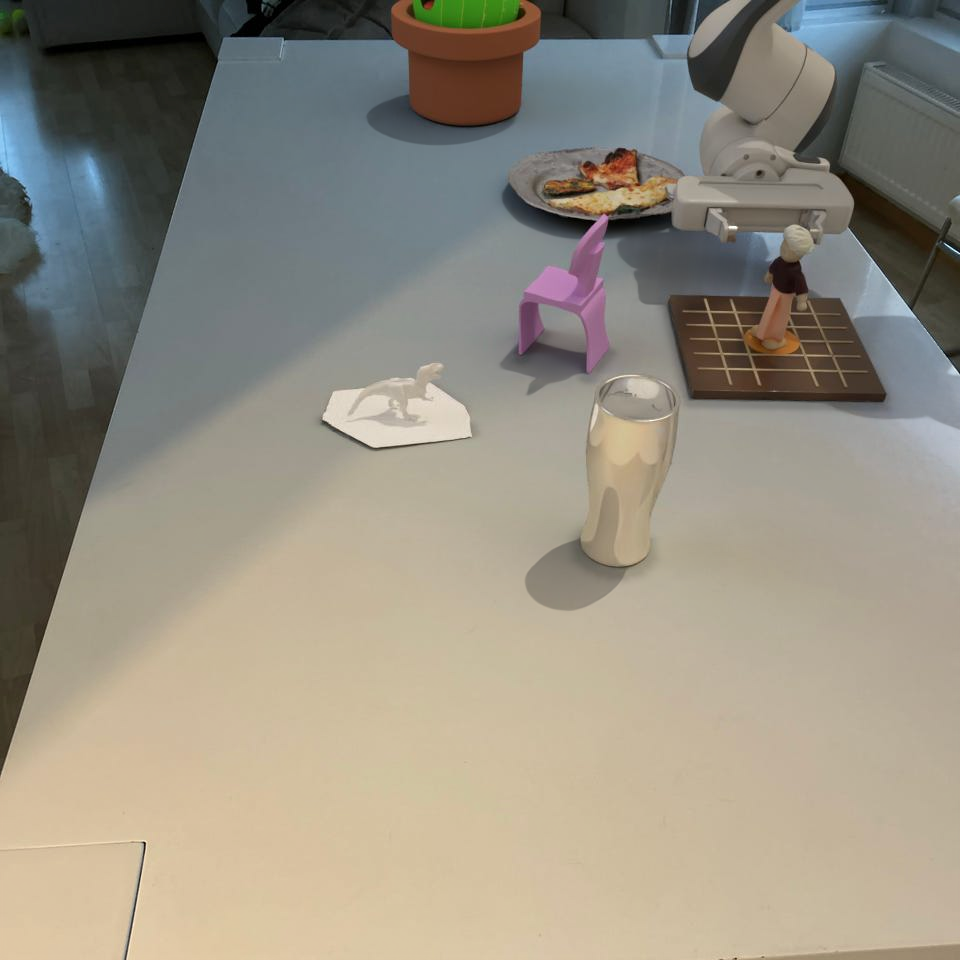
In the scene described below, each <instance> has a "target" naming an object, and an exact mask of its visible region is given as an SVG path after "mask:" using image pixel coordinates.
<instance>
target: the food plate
mask: <svg viewBox="0 0 960 960" xmlns="http://www.w3.org/2000/svg"><path fill="white" fill-rule="evenodd" d="M684 176H685V173H684V172H683V171H682V170H681V169H679V168H677V167H676V166H674V165H673V164H671V163H669V162H667V161H666V160H665V161H664V160H661V159H659V158H657V157H653V156H651V155H648V154H646V153H641V152H638V149H636V148H633V149H627V148H626V147H617V148H612V149H607V148H599V147H595V146H594V147H585V148H584V147H581V148H577V147H576V148H571V149H569V148H567V149H562V150H561V149H559V150H553V151H546V152H544V151H543V152H536V153H533V154H531V155H528V156H526V157H523V158H522V159H520V160H519V161H517V163H516V164H514V165H513V166H512V168H510V170H509V171H508V173H507V179H508V183H509V185H510V186H511V187H512V190H513V192H515V194H517V195H518V196H519V197H520V198H521V199H522V200H523V201H524V202H525V203H526V204H528V205H531V206H532V207H534V208H538V209H541V210H544V211H546V212H549V213H552V214H554V215H558V216H560V217H561V218H563V217H564V218H565V219H567V218H568V217H570V218H577V219H581V220H588V221H589V220H590V221H595V222H597V221H598V220H599V219H600V218H601V216H602V215H603V214H605V215H606V216H607V217H608V221H616V220H619V219H620V220H621V219H624V220H627V219H640V218H641V217H648V216H652V215H654V216H657V215H661V216H662V215H665V214H669V213H672V206H673V201H671V200H669V199H668V198H667V196H666V192H665V188H666V186H667V184H672V183H676V182H677V181H678V180H679V179H680V178H681V177H684Z"/></svg>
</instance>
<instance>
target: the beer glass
mask: <svg viewBox="0 0 960 960" xmlns="http://www.w3.org/2000/svg"><path fill="white" fill-rule="evenodd" d="M680 406H681V396H680V394H679V392H678V391H677V389H676V388H675V387H674V386H673V385H672V384H670V383H668V381H665V380H663V379H661V378H658V377H656V376H652V375H648V374H643V373H642V374H641V373H623V374H617V375H613V376H611V377H608V378H606V379H604V380H603V381H601V383H599V384H598V386H597V387H596V389H595V391H594V399H593V404H592V409H591V411H590V417H589V423H588V429H587V435H586V444H585V445H586V447H585V468H586V479H587V490H588V491H587V492H588V512H587V516H586V519H585V522H584V525H583V528H582V530H581V534H580V541H579V542H580V546H581V549H582V551H583V552H584V553H585V555H587V557H589V558H590V559H592V560H593V561H595V562H596V563H599V564H601V565H605V566H608V567H615V568H616V567H617V568H621V567H622V568H623V567H628V566H632V565H635V564H637V563H640V562H641V561H643V560H644V559H645V558H646V556H648V554H649V552H650V549H651V518H652V513H653V510H654V508H655V505H656V502H657V500H658V497H659V495H660V493H661V491H662V489H663V486H664V483H665V482H666V480H667V476H668V473H669V470H670V467H671V464H672V461H673V458H674V452H675V447H676V441H677V436H678V435H677V434H678V425H679V416H680V415H679V414H680Z"/></svg>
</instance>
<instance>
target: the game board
mask: <svg viewBox="0 0 960 960" xmlns="http://www.w3.org/2000/svg"><path fill="white" fill-rule="evenodd" d="M769 297H770V296H757V295H755V296H753V295H751V296H750V295H707V294H705V295H704V294H701V295H699V294H669V297H668V306H669V311H670V314H671V319H672V323H673V326H674V331H675V334H676V335H675V336H676V338H677V343H678V347H679V351H680V355H681V359H682V364H683V367H684V371H685V375H686V379H687V384H688V387H689V390H690V395H691V399H715V400H716V399H718V400H723V399H724V400H765V401H766V400H771V401H774V400H775V401H777V400H778V401H821V402H822V401H823V402H824V401H825V402H875V403H876V402H877V403H883V402H885V400H886V397H887V395H888V393H887V391H886V389H885V386H884V384H883V383H882V381H881V379H880V377H879V374H878V373H877V370H876V368H875V367H874V363H872V361H871V359H870V356H869V354H868V351H867V350H866V348H865V347H864V343H863V342H862V340H861V338H860V336H859V334H858V332H857V329H856V328H855V326H854V324H853V321H852V319H851V317H850V316H849V314H848V312H847V308H846V307H845V305H844V303H843V301H842V299H841V297H808V296H807V301H806V304H807V308H806V310H805V311H802V312H801V311H798V310H797V303H798V302H797V297H796V296H794V297H793V300H792V304H791V313H790V317H789V321H788V325H787V327H786V331H785V335H784V339H785V340H786V346H784V347H781V348H778V349H775V350H770V349H767V348H765V347H764V346H763V345H762V341H763V340H761V339H759V338H758V337H754V336H752V335H751V333H750V330H751V329H752V327H754V326H755V325H759V324H760V321H761V318H762V315H763V313H764V310H765V308H766V305H767V303H768V300H769Z"/></svg>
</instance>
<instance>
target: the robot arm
mask: <svg viewBox="0 0 960 960" xmlns="http://www.w3.org/2000/svg"><path fill="white" fill-rule="evenodd" d="M801 1H802V0H724V1H723V2H720V4H719V5H717V6H716V7H715V8H714V9H713V10H712V11H710V13H709V14H708V15H707V16H706V17H705V19H704V20H703V21H702V22H701V23H700V24H699V26H698V27H697V30H696V31H695V32H694V34H693V36H692V37H691V40H690V42H689V44H688V47H687V51H686V62H687V71H688V74H689V79H690V82H691V85H692V88H693V90H694V91H695V92H697V93H699V94H701V95H703V96H705V97H707V98H708V99H710V100H712V101H714V102H717V103H718V102H719V103H720V104H721V105H723V106H721V107H718V108H717V109H716V110H715V111H714V112H712V114H710V115H709V117H708V118H707V120H706V121H705V123H704V125H703V128H702V131H701V133H700V139H699V148H698V149H699V152H698V153H699V160H700V165H701V169H702V172H703V174H704V175H695V174H694V175H684V177H681V178H680V179H679V180H678V181H677V182H676V183H672V184H667V186H666V188H665V192H666V196H667V198H668V199H669V200H671V201H673V206H672V212H671V224H672V226H673V227H674V228H676V229H678V230H679V231H682V232H707V233H710V234H712V235H714V236H715V237H718V238H719V240H720V243H735V242H736V239H737V237H736V236H737V235H738V233H767V234H783V233H784V230H785V229H786V228H787V227H789V226H790V225H799V226H801V227H803V228H805V229H807V230H808V231H809V232H810V234H811V237H812V239H813V243H814V245H815V246H816V245H817V246H818V245H819V246H820V245H821V243H822V239H823V235H841V234H843V233H844V232H845V231H847V229H848V227H849V224H850V222H851V218H852V215H853V212H854V208H855V200H854V197H853V196H852V193H851V192H850V191H849V189H848V187H847V186H846V185H845V183H844V182H843V181H842V180H841V178H840V177H838V176H837V175H836V174H834V173H832V172H830V168H831V163H830V162H829V160H828V159H826V158H823V157H818V156H814V155H808V154H803V152H804V151H806V149H808V147H810V145H811V144H812V143H813V142H814V141H815V140H816V139H817V138H818V136H819V135H820V134H821V132H822V131H823V130H824V129H825V126H826V125H827V123H828V122H829V120H830V118H831V116H832V114H833V112H834V108H835V105H836V104H835V103H836V98H837V90H838V75H837V70H836V67H835V65H834V64H832V63H830V61H828V60H827V59H826V58H824V57H823V56H822V55H820V53H818V52H817V51H815V50H814V49H813V48H811V47H810V46H809V45H808V44H806V43H805V42H802V41H800V40H799V39H798V38H796V36H794V35H792V34H791V33H790V32H788V31H787V30H786V29H784V28H783V27H781V26H780V25H779V24H777V23H776V22H777V21H778V20H779V19H781V18H782V17H783V16H784V15H786V14H787V13H788V12H789V11H790V10H791V9H792V8H794V7H795V6H796V5H797V4H798V3H800V2H801Z"/></svg>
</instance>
